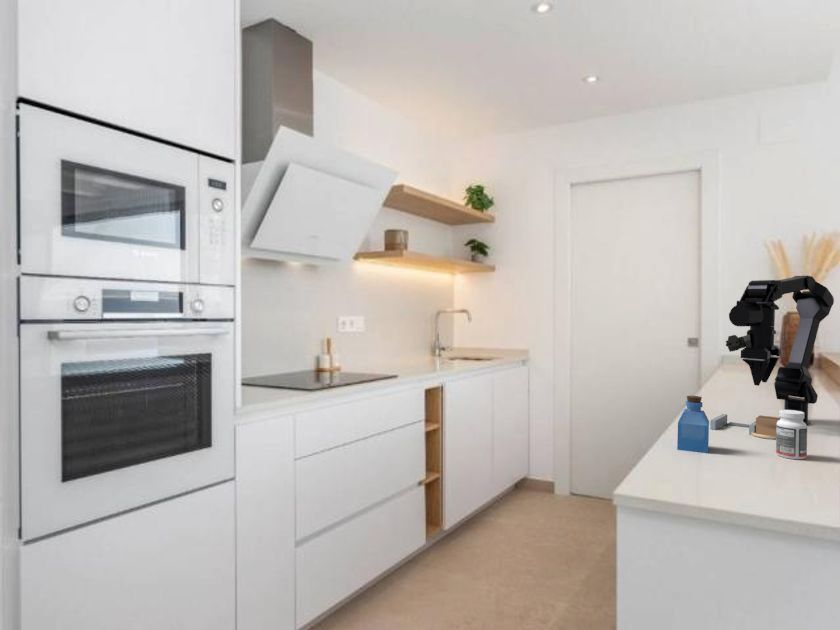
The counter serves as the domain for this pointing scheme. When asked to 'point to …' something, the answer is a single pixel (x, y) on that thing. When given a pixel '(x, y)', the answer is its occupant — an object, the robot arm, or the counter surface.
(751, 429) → the channel
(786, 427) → the pill bottle
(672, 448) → the counter surface
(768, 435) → the coaster
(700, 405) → the blue corked bottle
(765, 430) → the block
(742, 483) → the counter surface
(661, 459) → the counter surface
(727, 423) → the trap tile
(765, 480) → the counter surface
